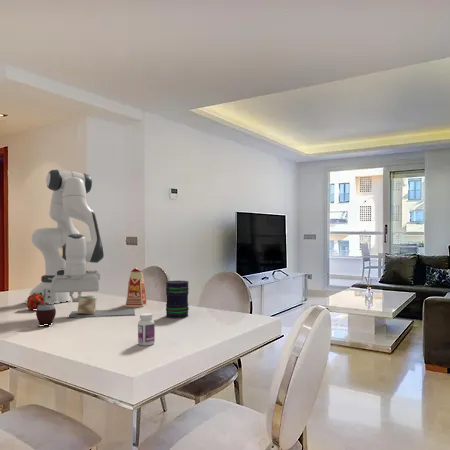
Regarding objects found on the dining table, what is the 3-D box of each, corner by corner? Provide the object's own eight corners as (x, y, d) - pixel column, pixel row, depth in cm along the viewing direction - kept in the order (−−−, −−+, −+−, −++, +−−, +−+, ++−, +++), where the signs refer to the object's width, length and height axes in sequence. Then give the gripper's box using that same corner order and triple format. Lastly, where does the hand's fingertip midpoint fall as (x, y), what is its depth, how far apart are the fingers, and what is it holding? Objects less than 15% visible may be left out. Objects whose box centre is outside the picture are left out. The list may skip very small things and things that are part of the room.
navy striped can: (184, 318, 178) (184, 283, 178) (162, 317, 180) (162, 282, 180) (191, 314, 188) (191, 280, 188) (170, 313, 190) (170, 280, 190)
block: (77, 313, 184) (79, 297, 184) (79, 311, 191) (80, 294, 191) (93, 314, 185) (95, 298, 186) (95, 311, 192) (96, 295, 192)
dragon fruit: (35, 310, 205) (40, 318, 195) (20, 302, 201) (24, 309, 191) (47, 296, 207) (52, 303, 197) (32, 287, 203) (36, 293, 193)
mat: (67, 318, 179) (67, 317, 179) (71, 312, 193) (71, 311, 193) (134, 315, 186) (134, 314, 186) (134, 309, 199) (134, 308, 199)
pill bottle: (155, 341, 140) (155, 312, 141) (153, 345, 135) (153, 315, 135) (139, 341, 140) (139, 312, 140) (136, 346, 135) (136, 315, 135)
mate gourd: (48, 323, 170) (48, 285, 170) (60, 325, 166) (61, 286, 166) (31, 326, 163) (31, 287, 164) (44, 328, 159) (44, 289, 160)
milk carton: (143, 307, 207) (143, 266, 207) (124, 307, 207) (124, 266, 207) (147, 304, 216) (147, 264, 216) (129, 303, 216) (129, 264, 216)
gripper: (100, 269, 192) (100, 300, 192) (53, 270, 188) (52, 301, 188) (99, 271, 186) (99, 302, 186) (50, 271, 182) (50, 304, 182)
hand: (75, 302), depth 187 cm, fingers closed
